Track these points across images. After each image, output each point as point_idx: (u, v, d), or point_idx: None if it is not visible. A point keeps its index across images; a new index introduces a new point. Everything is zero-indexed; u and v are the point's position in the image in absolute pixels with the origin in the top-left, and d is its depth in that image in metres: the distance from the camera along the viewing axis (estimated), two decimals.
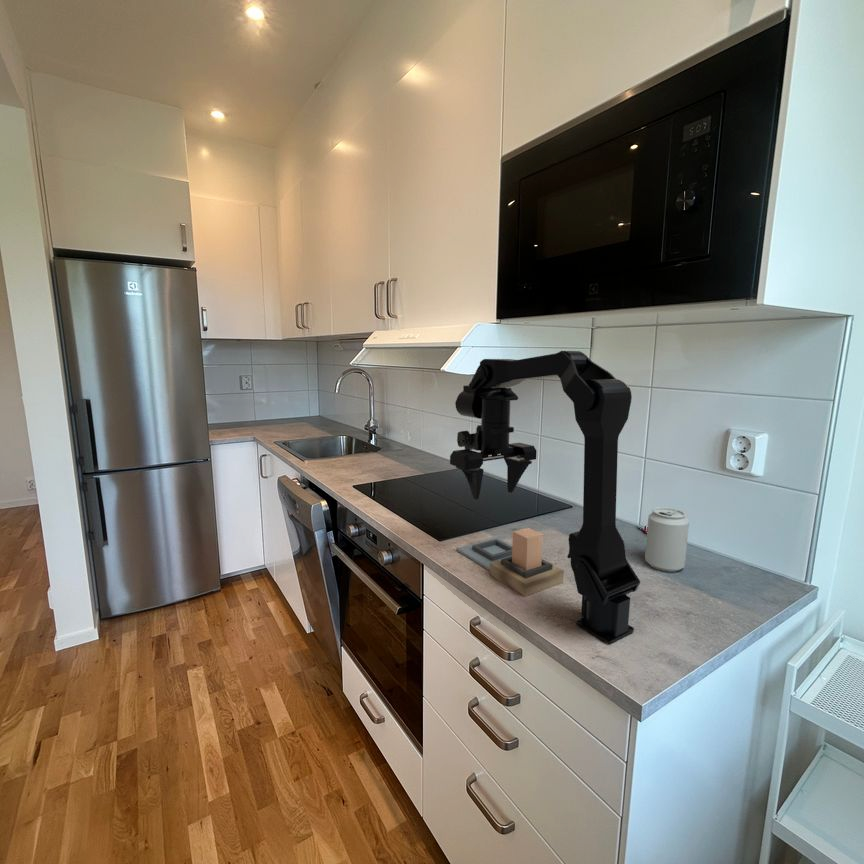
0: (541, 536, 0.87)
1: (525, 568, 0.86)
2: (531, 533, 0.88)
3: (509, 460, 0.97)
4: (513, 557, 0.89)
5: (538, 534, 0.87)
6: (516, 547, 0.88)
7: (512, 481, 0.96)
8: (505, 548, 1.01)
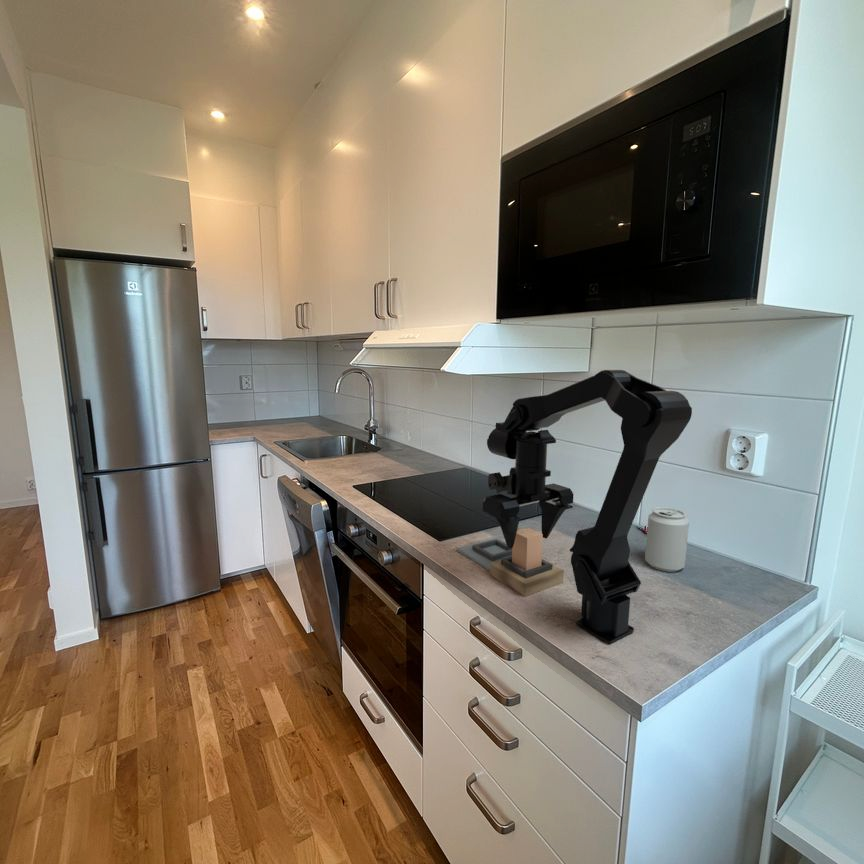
0: (541, 536, 0.87)
1: (525, 568, 0.86)
2: (531, 533, 0.88)
3: (543, 503, 0.91)
4: (513, 557, 0.89)
5: (538, 534, 0.87)
6: (516, 547, 0.88)
7: (547, 526, 0.90)
8: (505, 548, 1.01)
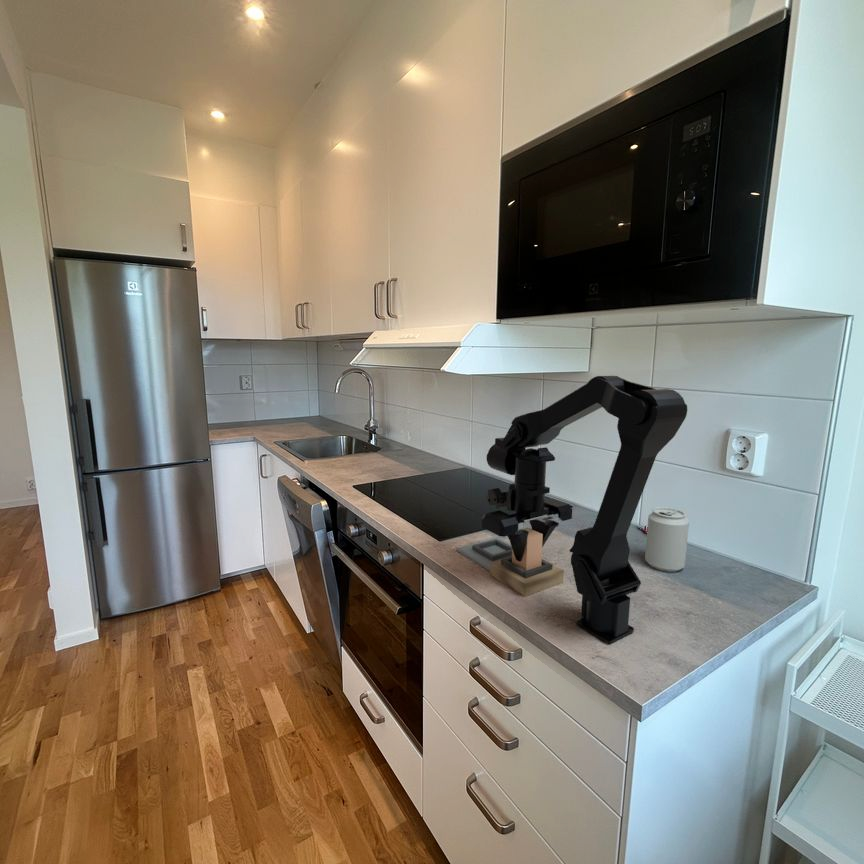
0: (541, 536, 0.87)
1: (525, 568, 0.86)
2: (531, 533, 0.88)
3: (534, 521, 0.90)
4: (513, 557, 0.89)
5: (538, 534, 0.87)
6: None
7: None
8: (505, 548, 1.01)
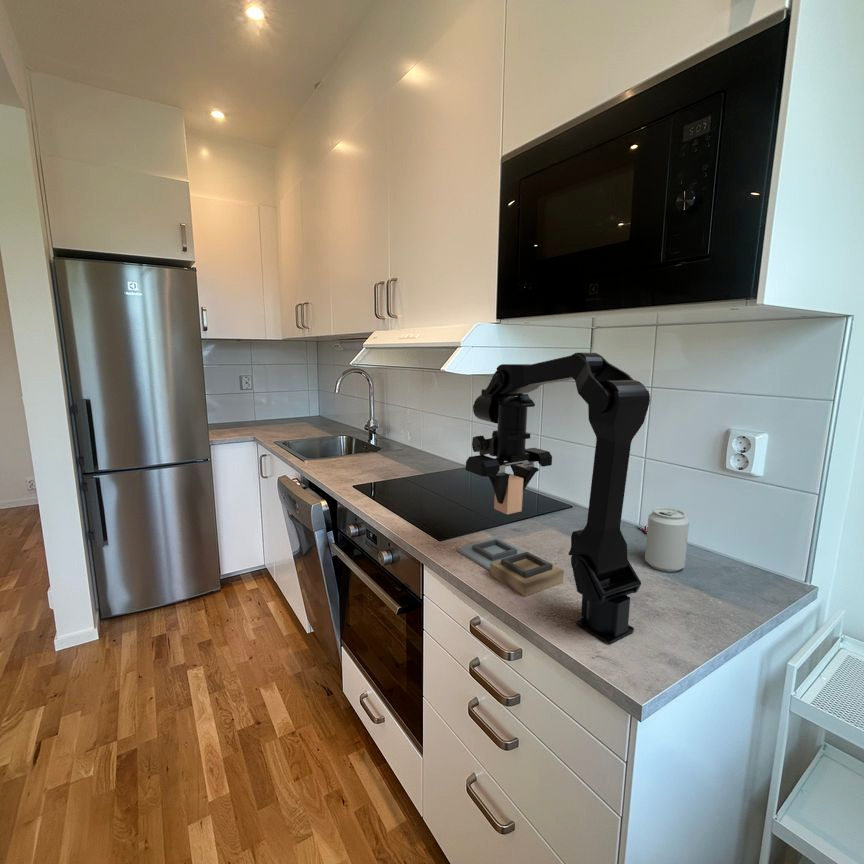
0: (522, 480, 0.92)
1: (506, 510, 0.91)
2: (512, 477, 0.93)
3: (515, 467, 0.95)
4: (495, 500, 0.94)
5: (519, 478, 0.92)
6: None
7: None
8: (505, 548, 1.01)
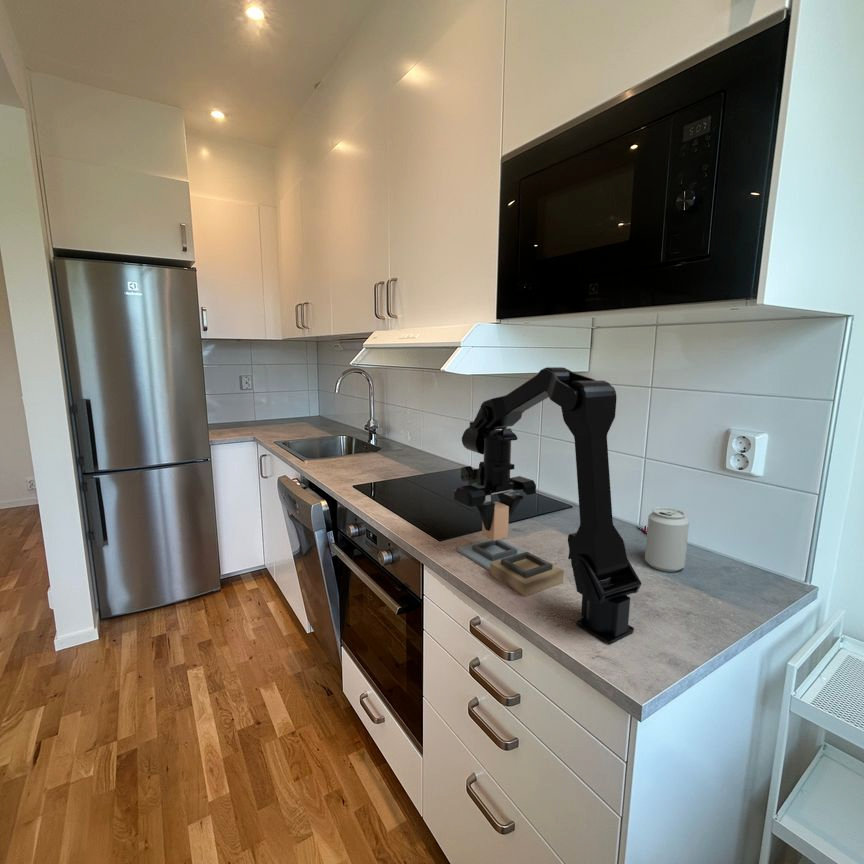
0: (507, 508, 0.98)
1: (493, 536, 0.97)
2: (498, 505, 0.98)
3: (502, 495, 1.01)
4: (483, 527, 1.00)
5: (505, 506, 0.98)
6: None
7: None
8: (505, 548, 1.01)
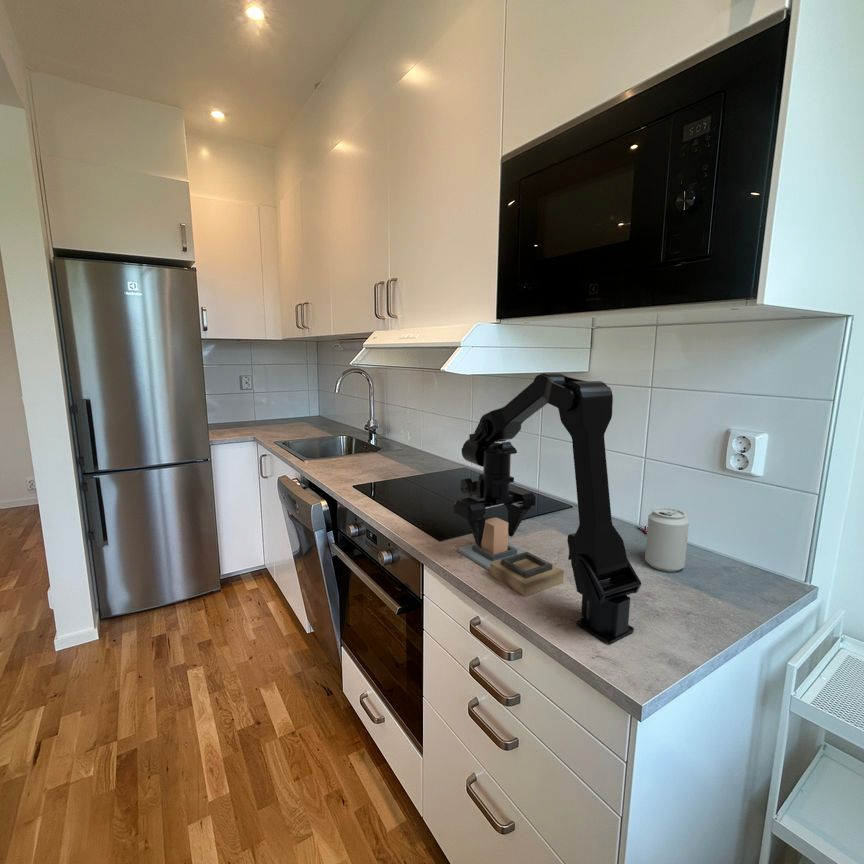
0: (507, 524, 0.99)
1: (492, 552, 0.98)
2: (498, 522, 0.99)
3: (509, 505, 1.03)
4: (483, 543, 1.00)
5: (504, 522, 0.99)
6: (485, 535, 1.00)
7: (513, 525, 1.01)
8: None
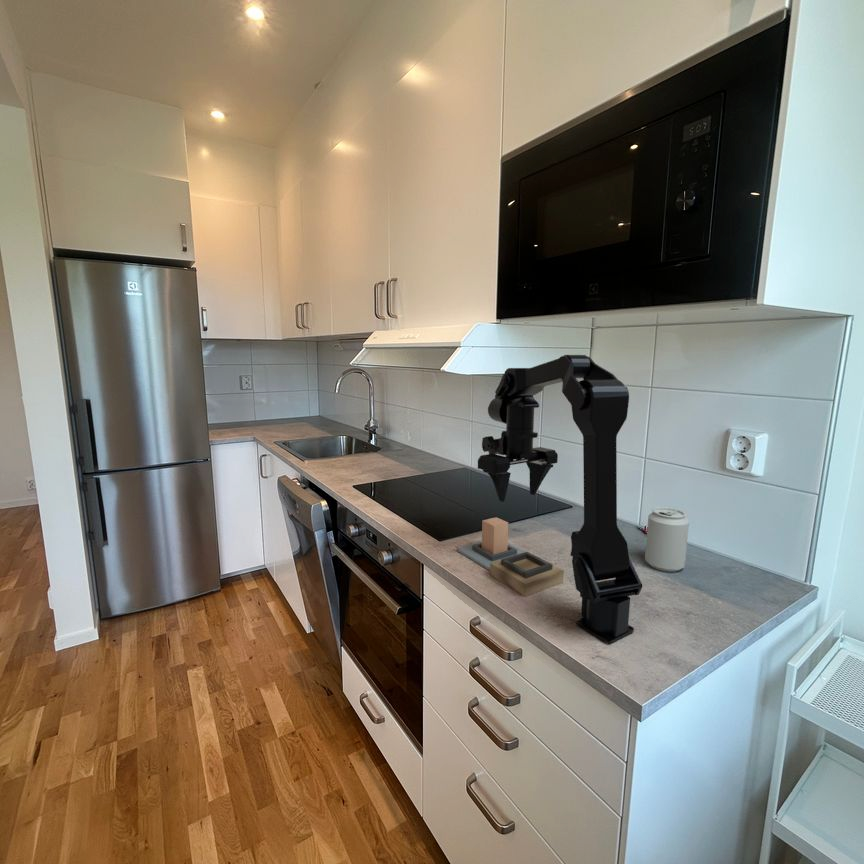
0: (507, 524, 0.99)
1: (492, 552, 0.98)
2: (498, 522, 0.99)
3: (531, 464, 1.02)
4: (483, 543, 1.00)
5: (504, 522, 0.99)
6: (485, 535, 1.00)
7: (535, 483, 1.01)
8: None
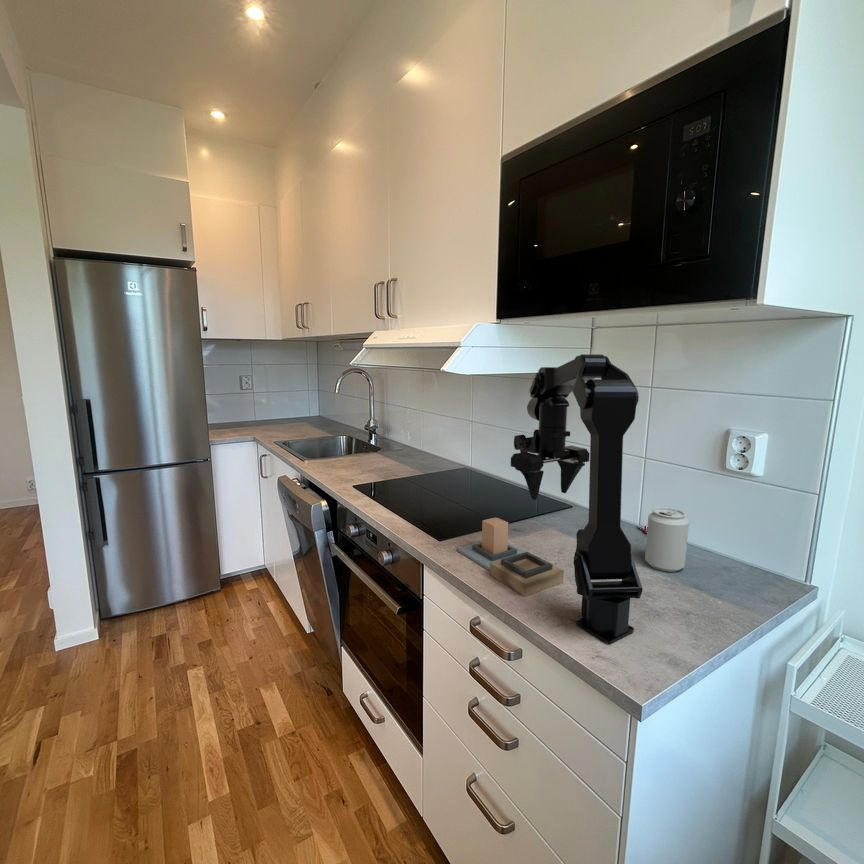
0: (507, 524, 0.99)
1: (492, 552, 0.98)
2: (498, 522, 0.99)
3: (562, 462, 1.03)
4: (483, 543, 1.00)
5: (504, 522, 0.99)
6: (485, 535, 1.00)
7: (566, 482, 1.01)
8: None
